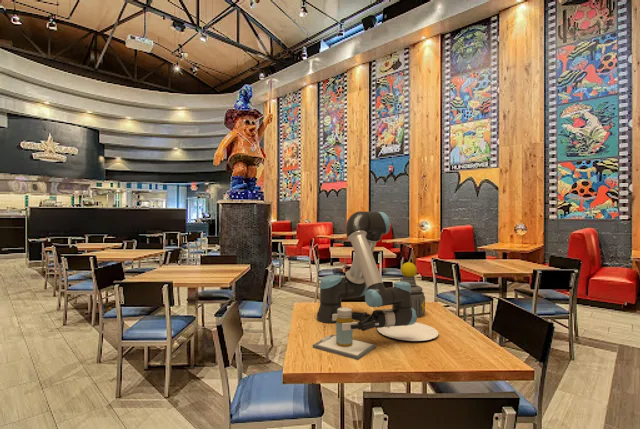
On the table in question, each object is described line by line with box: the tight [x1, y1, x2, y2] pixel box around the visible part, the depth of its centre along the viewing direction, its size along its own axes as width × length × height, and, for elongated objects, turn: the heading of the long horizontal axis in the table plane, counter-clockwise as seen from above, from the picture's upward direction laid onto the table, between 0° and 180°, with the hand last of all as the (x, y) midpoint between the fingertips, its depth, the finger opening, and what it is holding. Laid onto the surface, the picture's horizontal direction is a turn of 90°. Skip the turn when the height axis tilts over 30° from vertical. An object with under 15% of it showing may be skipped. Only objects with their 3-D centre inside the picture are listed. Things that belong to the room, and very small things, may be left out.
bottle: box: [335, 307, 354, 347], centre depth 148 cm, size 7×7×15 cm
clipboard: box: [312, 334, 377, 361], centre depth 148 cm, size 22×16×2 cm
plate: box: [376, 321, 439, 342], centre depth 168 cm, size 29×29×2 cm
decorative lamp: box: [391, 261, 426, 318], centre depth 201 cm, size 19×19×30 cm
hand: (337, 322), depth 147 cm, fingers open, 13 cm apart
